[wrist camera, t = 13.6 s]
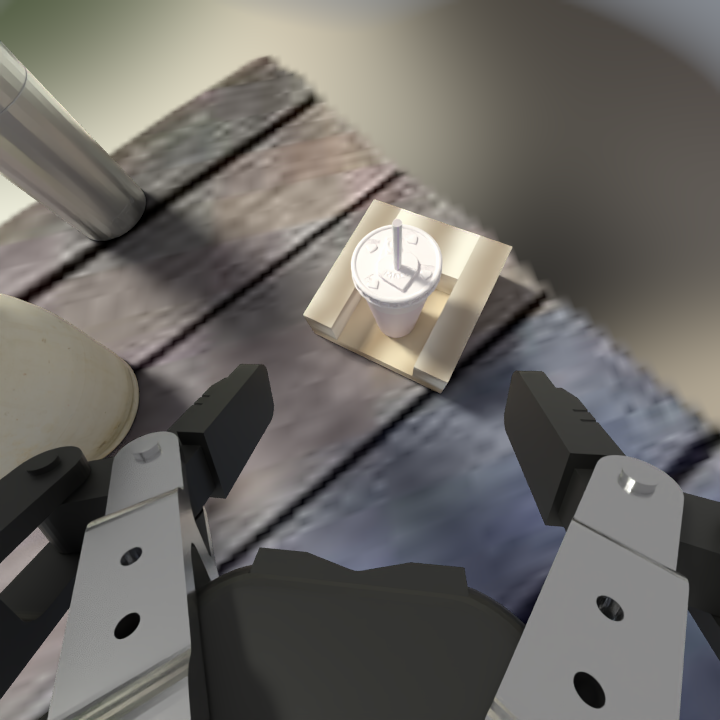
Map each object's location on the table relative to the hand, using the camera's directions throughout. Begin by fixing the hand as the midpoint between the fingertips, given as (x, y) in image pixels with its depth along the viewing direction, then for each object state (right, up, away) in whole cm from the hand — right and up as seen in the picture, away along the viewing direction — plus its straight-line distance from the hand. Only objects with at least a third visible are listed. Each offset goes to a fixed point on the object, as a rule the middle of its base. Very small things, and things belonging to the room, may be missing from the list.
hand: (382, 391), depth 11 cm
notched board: (+4, +7, +23) cm, 24 cm away
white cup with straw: (+3, +5, +21) cm, 21 cm away
